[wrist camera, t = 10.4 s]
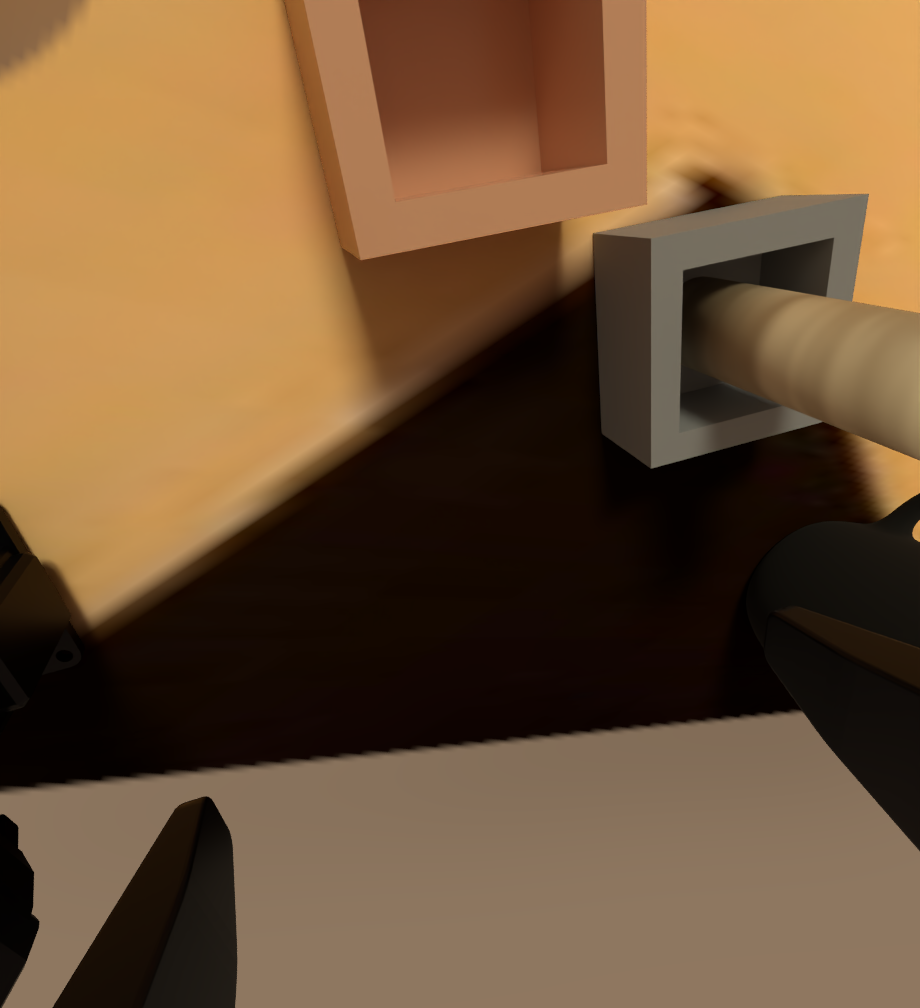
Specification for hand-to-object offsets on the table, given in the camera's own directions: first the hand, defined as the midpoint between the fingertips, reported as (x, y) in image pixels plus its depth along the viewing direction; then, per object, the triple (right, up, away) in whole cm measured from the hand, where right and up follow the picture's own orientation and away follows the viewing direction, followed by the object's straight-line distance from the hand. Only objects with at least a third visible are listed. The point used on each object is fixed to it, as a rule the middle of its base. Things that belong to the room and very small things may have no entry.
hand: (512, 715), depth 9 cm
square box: (-1, +15, +7) cm, 16 cm away
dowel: (+7, +10, +12) cm, 17 cm away
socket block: (+7, +10, +12) cm, 17 cm away
